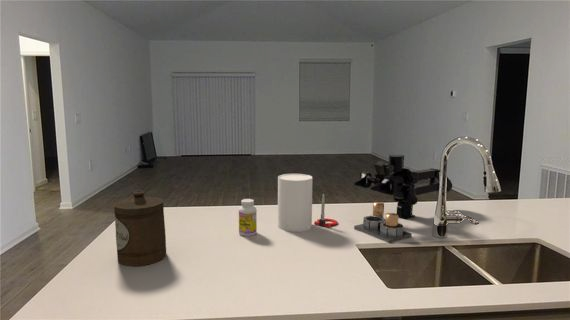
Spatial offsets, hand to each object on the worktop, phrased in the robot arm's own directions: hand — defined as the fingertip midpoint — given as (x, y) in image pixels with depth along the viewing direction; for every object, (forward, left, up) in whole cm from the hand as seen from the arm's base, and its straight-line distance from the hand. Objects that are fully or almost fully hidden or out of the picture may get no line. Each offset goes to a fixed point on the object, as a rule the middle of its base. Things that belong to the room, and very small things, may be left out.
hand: (362, 186), depth 158 cm
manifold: (-1, +10, -16) cm, 19 cm away
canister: (+23, -14, -17) cm, 31 cm away
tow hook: (+10, -10, -17) cm, 22 cm away
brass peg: (-12, -3, -16) cm, 21 cm away
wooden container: (+82, -14, -17) cm, 85 cm away
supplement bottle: (+43, -16, -17) cm, 48 cm away
